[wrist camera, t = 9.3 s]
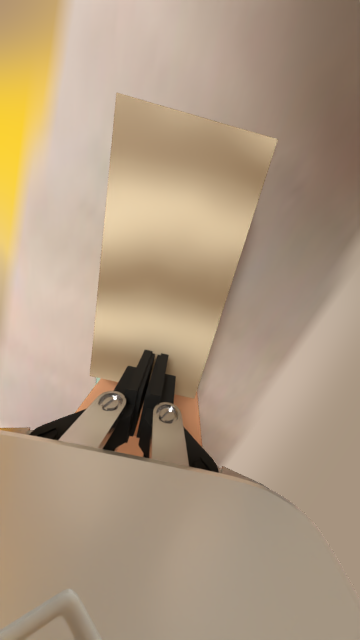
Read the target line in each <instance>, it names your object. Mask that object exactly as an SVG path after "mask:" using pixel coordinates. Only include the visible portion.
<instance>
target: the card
mask: <svg viewBox="0 0 360 640" xmlns="http://www.w3.org/2000/svg"><path fill="white" fill-rule="evenodd" d="M117 384H118V382H115V381H111V380H106V379H102V378H101V379H100V380H99V381H98V383H97V384H96V385H95V387H94V388H93V389H92V391H91V392H90V393H89V395H88V396H87V398H86V399H85V400H84V402H83V403H82V404H81V406H80V407H79V408H78V410H77V411H76V412H79V411H82V410H84V409H87V408H88V407H89V406H90V405H91V403H92V402H93V401H94V400H95V399H96V398H97V397H98V396H99V395H100V394H102V393H104V392H108V391H114V389H115V387H116V385H117ZM143 404H144V403H143ZM174 405H175V406H177V407H178V408H179V410H180V411H181V414H182V421H183V426H184V428H185V429H186V430H187V431H188V432H189V433H190V434H191V435H192V437H193V438H194V439H195V440H196V441H197V442H198V443H199V445H200V446H201V447H202V439H201V429H200V418H199V408H198V397H197V392H196V395H195V398H189V397H185V396H180V395H176V394H174ZM142 408H143V406H142ZM76 412H75V413H76ZM141 413H142V409H141ZM141 413H140V416H139V419H138V423H137V426H136V429H135V433H134V436H133V437H132V436H129V439H128V442H127V443H124V444H122V445H120V446H119V447H118V450H117V452H120V453H125V454H130V455H135V456H140V457H142V456H143V452H142V450H141V449H140V447H139V445H138V444H139V439H140V438H137V437H136V436H137V431H138V427H139V422H140V417H141Z"/></svg>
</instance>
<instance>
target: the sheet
mask: <svg viewBox="0 0 360 640" xmlns="http://www.w3.org/2000/svg"><path fill="white" fill-rule="evenodd" d="M277 141H278V139H275V138H271V137H268V136H265V135H261V134H258V133H254V132H251V131H247V130H244V129H240V128H237V127H233V126H230V125H227V124H223V123H220V122H216V121H213V120H209V119H206V118H202V117H199V116H195V115H192V114H189V113H185V112H182V111H178V110H175V109H171V108H168V107H164V106H161V105H157V104H154V103H151V102H147V101H144V100H140V99H137V98H133V97H130V96H126V95H123V94H119V93H116V103H115V114H114V124H113V135H112V146H111V156H110V167H109V177H108V188H107V199H106V209H105V220H104V230H103V241H102V251H101V262H100V273H99V283H98V294H97V304H96V315H95V326H94V336H93V347H92V357H91V368H90V376H92V377H97V378H102V379H106V380H111V381H115V382H119V380H120V378H121V377H122V375H123V373H124V371H125V370H126V368H127V366H132V367H137V365H138V363H139V361H140V359H141V357H142V354H143V352H144V350H150V351H153V354H155V358H154V362H153V367H152V371H153V368H154V365H155V361H156V358H157V355H161V353H163V354H167V355H169V356H168V362H167V367H166V373H165V374H169V375H173V376H176V380H175V392H174V394H176V395H180V396H185V397H189V398H195V395H196V392H197V389H198V386H199V382H200V379H201V376H202V373H203V370H204V367H205V364H206V361H207V358H208V355H209V352H210V348H211V345H212V342H213V339H214V336H215V333H216V330H217V327H218V324H219V321H220V317H221V314H222V311H223V308H224V305H225V302H226V299H227V296H228V293H229V290H230V286H231V283H232V280H233V277H234V274H235V271H236V268H237V265H238V262H239V259H240V255H241V252H242V249H243V246H244V243H245V240H246V237H247V234H248V231H249V228H250V225H251V221H252V218H253V215H254V212H255V209H256V206H257V203H258V200H259V197H260V194H261V190H262V187H263V184H264V181H265V178H266V175H267V172H268V169H269V166H270V163H271V159H272V156H273V153H274V150H275V147H276V144H277ZM152 371H151V374H152ZM150 378H151V376H150Z"/></svg>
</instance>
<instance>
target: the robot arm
mask: <svg viewBox="0 0 360 640" xmlns="http://www.w3.org/2000/svg"><path fill="white" fill-rule="evenodd" d="M168 356H169V355H167V354H163V353H161V355H157V358H156V361H155V365H154V368H153V371H152V367H153V362H154V358H155V354H153V351H150V350H144V352H143V354H142V357H141V359H140V361H139V363H138V365H137V367H132V366H127V368H126V370H125V371H124V373H123V375H122V377H121V378H120V380H119V382H118V384H117V385H116V387H115V389H114V391H108V392H104V393H102V394H100V395H99V396H98V397H97V398H96V399H95V400H94V401H93V402H92V403H91V405H90V406H89V407H88V408H87V409H84V410H82V411H79V412H76V413H74V414H71V415H68V416H66V417H63V418H60V419H58V420H55V421H52V422H50V423H47V424H45V425H42V426H40V427H38V428H36V429H35V430H30V427H27V428H0V640H360V598H359V596H358V594H357V593H356V591H355V589H354V587H353V585H352V584H351V582H350V580H349V578H348V576H347V575H346V573H345V571H344V569H343V568H342V566H341V564H340V562H339V561H338V559H337V557H336V556H335V554H334V552H333V550H332V549H331V547H330V545H329V544H328V542H327V541H326V539H325V538H324V536H323V535H322V533H321V532H320V530H319V529H318V528H317V526H316V525H315V524H314V523H313V521H312V520H311V519H310V518H309V517H308V516H307V515H306V514H305V513H304V512H303V511H302V510H300V509H299V508H298V507H297V506H296V505H294V504H293V503H292V502H290V501H289V500H287V499H286V498H284V497H283V496H281V495H279V494H278V493H276V492H274V491H272V490H270V489H269V488H267V487H266V486H264V485H263V484H261V483H258V482H256V481H254V480H252V479H250V478H248V477H245V476H243V475H241V474H239V473H237V472H234V471H232V470H230V469H228V468H226V467H224V466H222V468H219V467H217V465H216V463H215V462H214V461H213V459H212V458H211V457H210V456H209V455H208V454H207V452H206V451H205V450H204V449H203V448H202V447H201V446H200V445H199V443H198V442H197V441H196V440H195V439H194V438H193V437H192V435H191V434H190V433H189V432H188V431H187V430H186V429H185V428H184V426H183V421H182V414H181V411H180V410H179V408H178V407H177V406H175V405H174V392H175V380H176V376H173V375H169V374H165V373H166V367H167V362H168ZM151 371H152V374H151ZM150 376H151V378H150ZM143 403H144V404H143ZM142 406H143V408H142ZM141 409H142V413H141ZM140 413H141V417H140V422H139V427H138V431H137V436H136V437H137V438H140V439H139V444H138V445H139V447H140V449H141V450H142V452H143V456H142V457H140V456H135V455H130V454H125V453H120V452H117V450H118V447H119V446H120V445H122V444H124V443H127V442H128V439H129V436H132V437H133V436H134V433H135V429H136V426H137V423H138V419H139V416H140Z"/></svg>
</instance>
